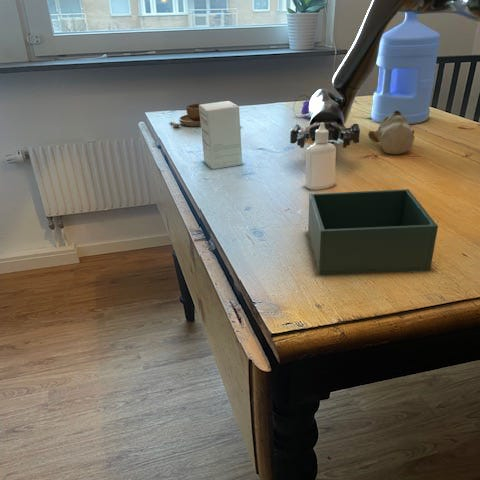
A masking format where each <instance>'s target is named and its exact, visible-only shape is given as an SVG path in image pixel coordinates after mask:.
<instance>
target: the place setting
mask: <svg viewBox="0 0 480 480" xmlns="http://www.w3.org/2000/svg"><path fill="white" fill-rule="evenodd" d="M201 104H202V103H193V104H188V105H186V106H185V109H186V114H184V115H181V116H179V118H178V121H179V123H176V122H173V121H171V122H170V124H173V127H175V128H177V127H180V125H182V126H185V127H193V128H195V127H196V128H198V127H201V123H200V113H199V105H201Z"/></svg>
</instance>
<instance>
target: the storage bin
mask: <svg viewBox="0 0 480 480" xmlns="http://www.w3.org/2000/svg"><path fill="white" fill-rule="evenodd" d="M307 225H308V227H307V229H308V231H307V234H308V238H309V241H310V246H311V249H312V254H313V257H314V261H315V265H316V269H317V272H318V275H319V276H330V275H333V276H334V275H355V274H379V273H380V274H382V273H403V272H405V273H407V272H425V271H426V272H428V271H431V267H432V261H433V257H434V252H435V245H436V239H437V235H438V234H437V233H438V228H439V225H438V224H437V223H436V222H435V220H434V219H433V218H432V216H431V215H430V214H429V213H428V212H427V210H426V209H425V208H424V207H423V205H422V204H421V203H420V202H419V200H418V199H417V198H416V196H415V194H413V193H412V192H411V191H410V189H409V188H406V189H405V188H404V189H403V188H402V189H387V190H386V189H385V190H365V191H363V190H362V191H342V192H323V193H322V192H321V193H309V194H308V224H307Z"/></svg>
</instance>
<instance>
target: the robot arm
mask: <svg viewBox="0 0 480 480" xmlns="http://www.w3.org/2000/svg"><path fill="white" fill-rule="evenodd" d="M398 13H404V14H405V13H410V14H418V15H425V14H455V15H458V16H461V17H463V18H466V19H468V20H472V21H475V22H480V0H372V1H371V3H370V6H369V7H368V10H367V12H366V15H365V17H364V19H363V22H362V24H361V26H360V29H359V31H358V33H357V35H356V38H355V40H354V42H353V44H352V45H351V47H350V48H349V50H348V52H347V53H346V55H345V57H344V59H343V60H342V62H341V64H340V65H339V66H338V68H337V70H336V72H335V73H334V75H333V77H332V81H331V82H332V86H333V88H334V89H335V91H336V92H337V93H338V94H339V95H340V96H341V97H340V96H339V95H337V94H335V93H334V92H332V91H331V90H329V89H327V88H320V89H318V90H317V91H315V93H314V94H313V95H312V96H311V98H310V99H311V100H310V99H309V100H310V103H309V113H308V116H309V115H310V116H309V117H310V121H309V124H308V125H307V126H305V127H304V128H303V127H302V126H300V124H294V125H292V127H291V129H290V130H289V131H290V132H289V133H290V134H289V136H290V137H289V138H290V139H289V143H290V144H296V146H298V147H299V148H300V149H304V148H305V144H308V145H309V144H310V145H313V144H314V143H316V142H315V131H316V130H318V129H319V127H320V123H324V125H325V129H326V130H328V131H329V133H328V143H331V144H333V145H334V144H338V145H339V144H340V145H341V144H342V148H343V149H345V148H347V146H350V145H351V142H352V143H354V144H358V143H360V133H361V129H360V126H359V124H358V123H353V124H352V125H350V127H346V126H345V124H346V123H347V121H348V119H349V117H350V114H351V111H352V107H353V105H354V102H355V99H356V98H357V96H358V93H359V92H360V90H361V89H362V87H363V86H364V84H365V83H366V82H367V80H368V78H369V77H370V76H371V74H372V72H373V71H374V69H375V67H376V65H377V64H376V63H377V58H378V53H379V47H380V42H381V38H382V35H383V34H384V33H385V31H386V29H387V28H388V25H389V24H390V23H391V21H392V20H393V19H394V18H395V17H396V15H397V14H398Z"/></svg>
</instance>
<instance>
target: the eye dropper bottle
mask: <svg viewBox="0 0 480 480" xmlns="http://www.w3.org/2000/svg"><path fill="white" fill-rule="evenodd" d="M328 133H329V131H328V130H326V129H325V125H324V123H320V127H319V129H318V130H316V131H315V142H316V143H312V144H310V145H309V146H308V147H307V148H306V153H305V154H306V155H305V187H306V188H307V189H308V190H310V191H317V190H325V189H329V188H331V187H334V185H335V181H336V160H337V147H336V145H334V144H331V143H328Z"/></svg>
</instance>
